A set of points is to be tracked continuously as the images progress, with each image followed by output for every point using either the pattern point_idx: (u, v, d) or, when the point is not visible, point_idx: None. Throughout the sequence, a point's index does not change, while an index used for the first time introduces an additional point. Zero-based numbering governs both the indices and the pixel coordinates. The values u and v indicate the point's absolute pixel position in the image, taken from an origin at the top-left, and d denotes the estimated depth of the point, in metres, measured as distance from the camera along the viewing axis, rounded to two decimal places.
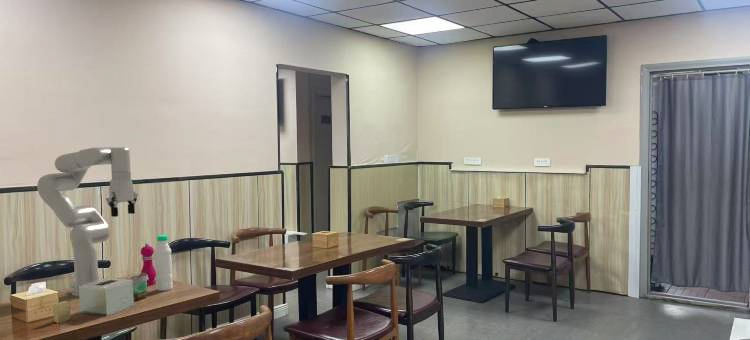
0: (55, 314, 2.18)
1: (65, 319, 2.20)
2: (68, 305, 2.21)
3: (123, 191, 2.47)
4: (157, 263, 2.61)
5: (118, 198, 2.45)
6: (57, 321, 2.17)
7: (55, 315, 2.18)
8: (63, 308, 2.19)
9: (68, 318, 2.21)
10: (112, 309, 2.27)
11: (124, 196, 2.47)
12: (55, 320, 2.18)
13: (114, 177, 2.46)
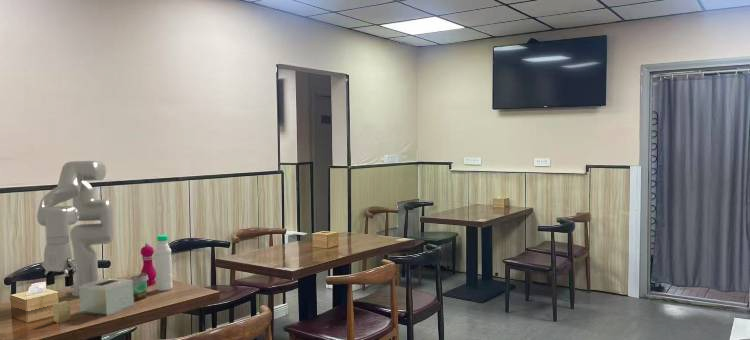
0: (55, 314, 2.18)
1: (65, 319, 2.20)
2: (68, 305, 2.21)
3: None
4: (157, 263, 2.61)
5: None
6: (57, 321, 2.17)
7: (55, 315, 2.18)
8: (63, 308, 2.19)
9: (68, 318, 2.21)
10: (112, 309, 2.27)
11: None
12: (55, 320, 2.18)
13: (64, 242, 2.17)
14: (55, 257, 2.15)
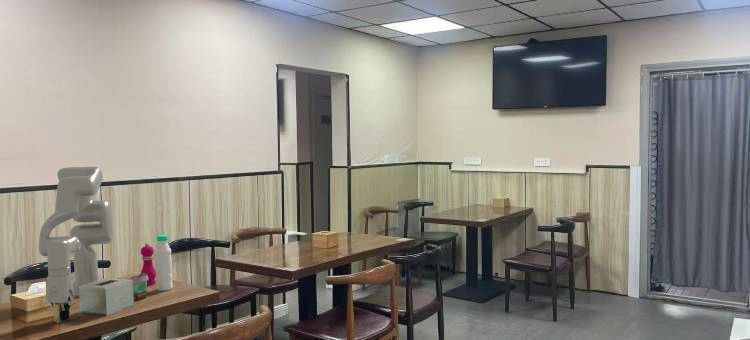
0: (55, 314, 2.18)
1: None
2: None
3: None
4: (157, 263, 2.61)
5: None
6: (57, 321, 2.17)
7: (55, 315, 2.18)
8: None
9: None
10: (112, 309, 2.27)
11: None
12: (55, 320, 2.18)
13: (66, 274, 2.18)
14: (57, 289, 2.16)
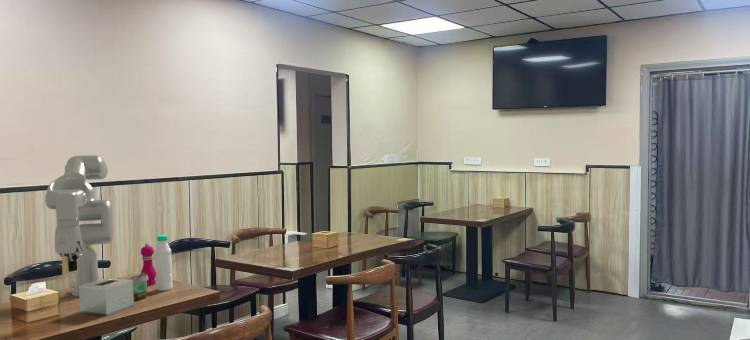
0: (64, 266, 2.20)
1: (73, 272, 2.22)
2: None
3: None
4: (157, 263, 2.61)
5: None
6: (65, 272, 2.20)
7: (64, 267, 2.20)
8: None
9: (76, 271, 2.23)
10: (112, 309, 2.27)
11: None
12: (63, 272, 2.20)
13: (74, 225, 2.20)
14: (65, 240, 2.18)
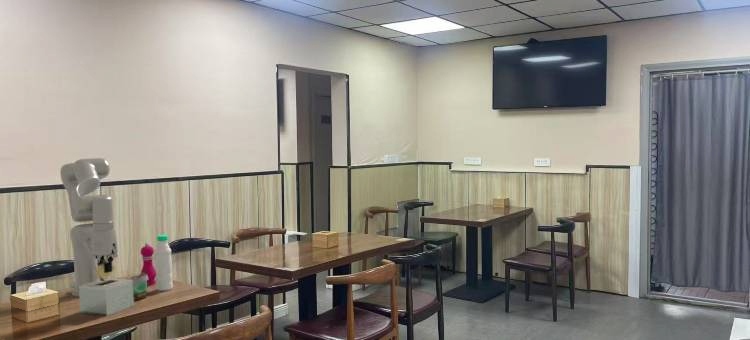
0: (100, 266, 2.31)
1: (102, 276, 2.30)
2: (112, 269, 2.35)
3: None
4: (157, 263, 2.61)
5: None
6: (97, 271, 2.29)
7: (99, 267, 2.31)
8: None
9: (104, 278, 2.31)
10: (112, 309, 2.27)
11: None
12: (96, 270, 2.29)
13: (110, 228, 2.31)
14: (101, 242, 2.29)
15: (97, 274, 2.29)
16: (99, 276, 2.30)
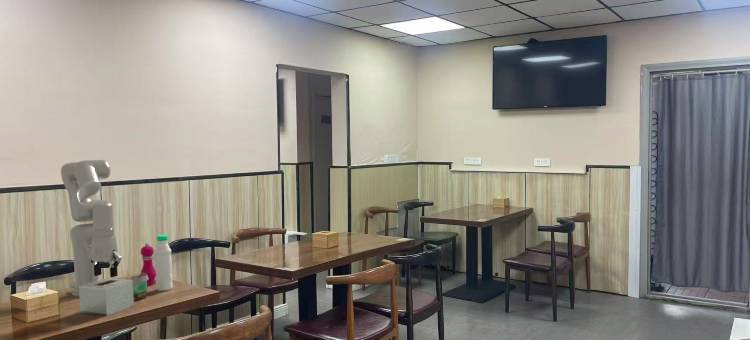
0: None
1: None
2: None
3: None
4: (157, 263, 2.61)
5: None
6: None
7: None
8: None
9: None
10: (112, 309, 2.27)
11: None
12: None
13: (110, 234, 2.31)
14: (102, 248, 2.29)
15: None
16: None
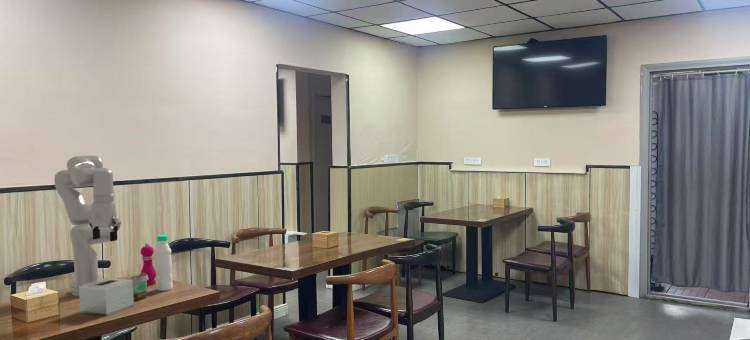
0: None
1: None
2: None
3: None
4: (157, 263, 2.61)
5: None
6: None
7: None
8: None
9: None
10: (112, 309, 2.27)
11: None
12: None
13: (109, 200, 2.37)
14: (101, 214, 2.35)
15: None
16: None
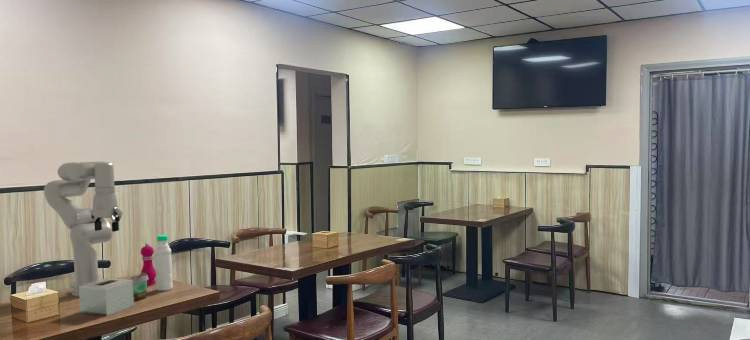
0: None
1: None
2: None
3: None
4: (157, 263, 2.61)
5: None
6: None
7: None
8: None
9: None
10: (112, 309, 2.27)
11: None
12: None
13: (111, 192, 2.44)
14: (103, 205, 2.43)
15: None
16: None
